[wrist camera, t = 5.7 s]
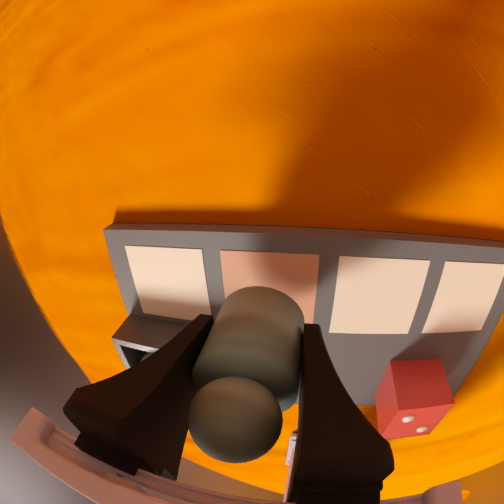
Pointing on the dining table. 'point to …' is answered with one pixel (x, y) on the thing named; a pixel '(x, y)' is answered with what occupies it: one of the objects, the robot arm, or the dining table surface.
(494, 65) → the dining table surface
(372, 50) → the dining table surface
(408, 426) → the die
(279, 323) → the pawn
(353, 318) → the board
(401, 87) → the dining table surface
